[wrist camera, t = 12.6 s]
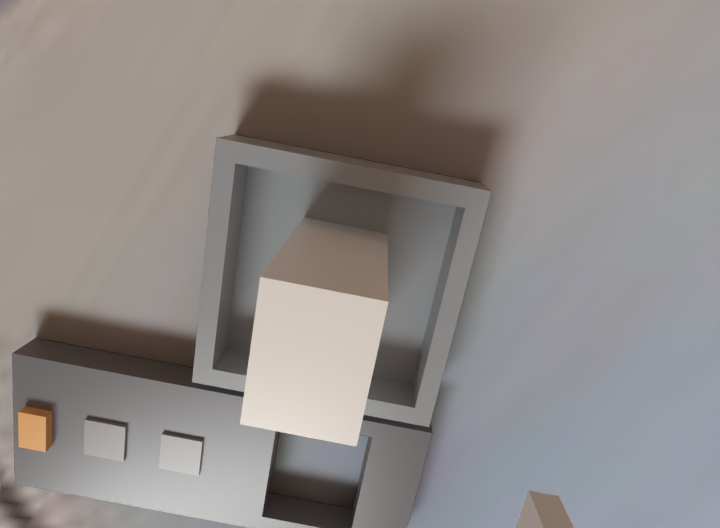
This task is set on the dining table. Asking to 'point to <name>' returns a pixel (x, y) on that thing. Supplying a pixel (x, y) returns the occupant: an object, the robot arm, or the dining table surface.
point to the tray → (351, 208)
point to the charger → (317, 332)
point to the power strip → (182, 444)
